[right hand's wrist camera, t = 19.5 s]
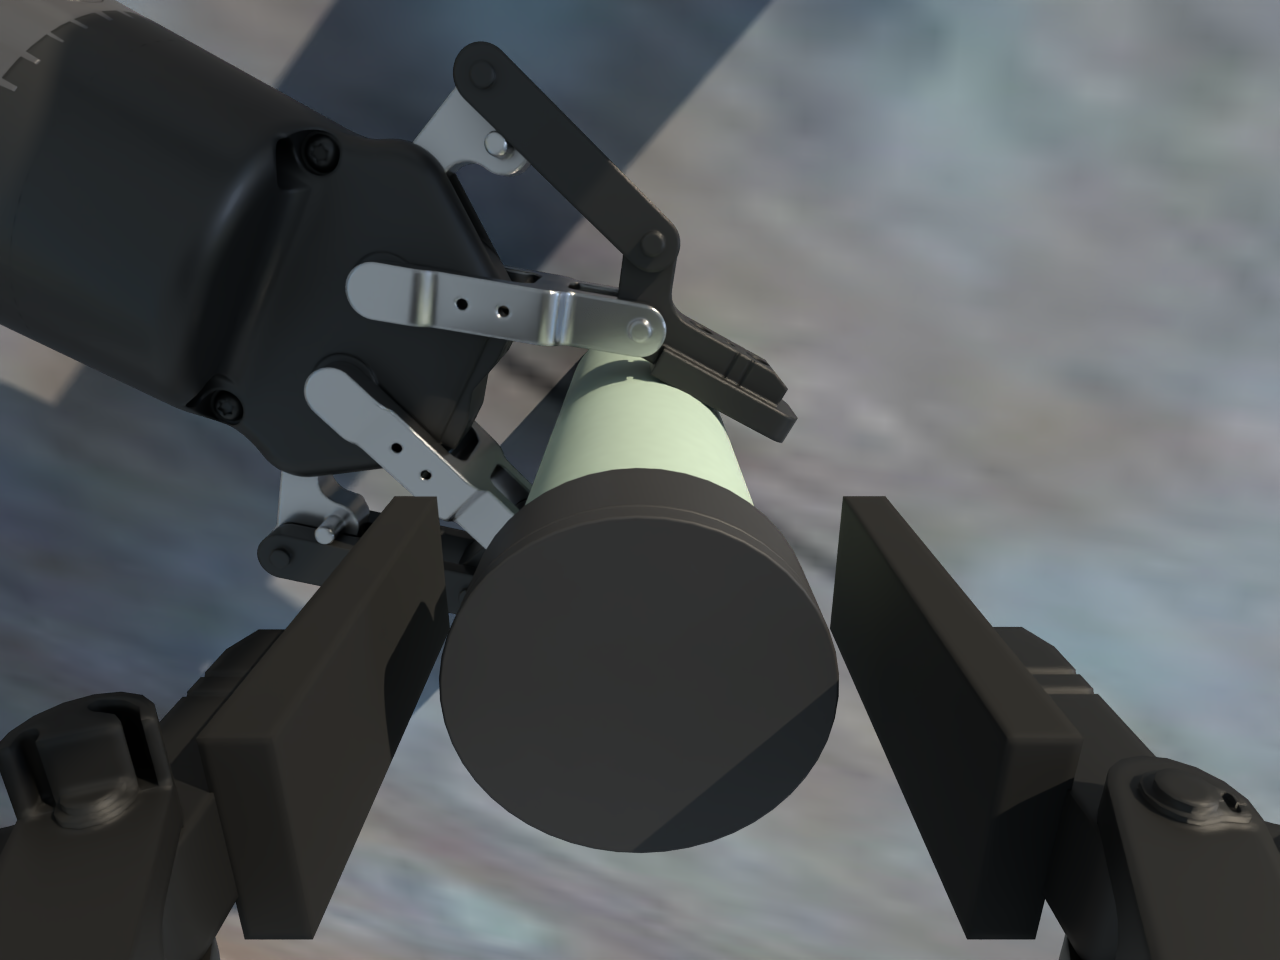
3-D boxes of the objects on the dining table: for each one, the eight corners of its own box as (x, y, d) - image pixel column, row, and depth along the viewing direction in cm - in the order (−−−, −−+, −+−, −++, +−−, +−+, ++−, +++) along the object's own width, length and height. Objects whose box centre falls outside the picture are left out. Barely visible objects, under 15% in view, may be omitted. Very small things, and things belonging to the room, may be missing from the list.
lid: (431, 492, 11) (393, 546, 9) (798, 442, 11) (827, 488, 9) (505, 784, 13) (485, 872, 11) (820, 747, 13) (849, 832, 11)
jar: (627, 486, 27) (611, 838, 12) (542, 384, 26) (410, 637, 11) (735, 409, 26) (861, 689, 11) (652, 298, 25) (672, 448, 10)
